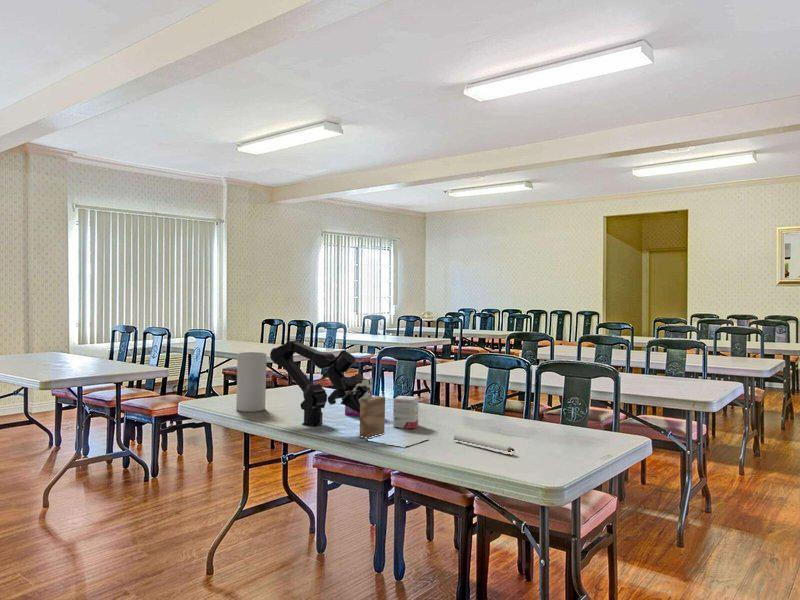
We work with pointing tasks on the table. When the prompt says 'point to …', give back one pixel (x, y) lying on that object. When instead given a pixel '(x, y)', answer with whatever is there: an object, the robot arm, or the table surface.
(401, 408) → the ink box
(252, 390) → the cylinder vase
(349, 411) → the candy bar box
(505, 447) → the tube
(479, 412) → the table surface
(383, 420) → the brown cardboard box
